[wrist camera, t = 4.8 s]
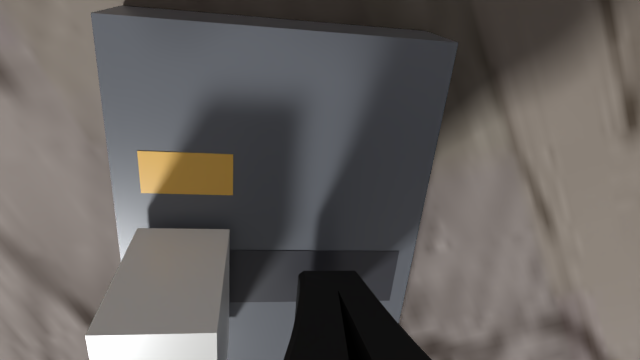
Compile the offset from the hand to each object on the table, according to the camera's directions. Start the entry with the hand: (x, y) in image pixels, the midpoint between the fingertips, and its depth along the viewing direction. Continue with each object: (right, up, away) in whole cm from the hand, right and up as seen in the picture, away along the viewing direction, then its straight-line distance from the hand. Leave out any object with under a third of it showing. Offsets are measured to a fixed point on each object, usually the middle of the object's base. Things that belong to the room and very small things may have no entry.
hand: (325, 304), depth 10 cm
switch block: (-2, -3, +5) cm, 6 cm away
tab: (-3, 0, 0) cm, 3 cm away
